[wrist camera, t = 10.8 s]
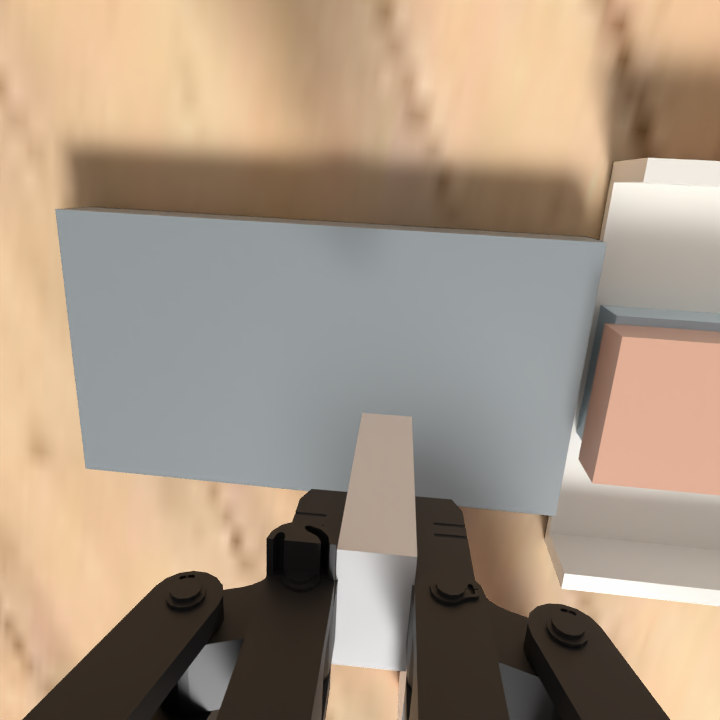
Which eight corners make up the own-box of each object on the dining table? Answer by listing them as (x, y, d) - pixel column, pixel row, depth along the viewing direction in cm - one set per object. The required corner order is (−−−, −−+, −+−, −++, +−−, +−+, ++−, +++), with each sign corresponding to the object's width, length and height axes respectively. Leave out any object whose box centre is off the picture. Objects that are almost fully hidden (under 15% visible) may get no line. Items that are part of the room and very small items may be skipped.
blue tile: (576, 432, 25) (589, 452, 23) (600, 304, 23) (616, 315, 21) (712, 444, 25) (737, 466, 23) (748, 315, 23) (778, 327, 21)
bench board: (113, 445, 29) (85, 468, 26) (90, 206, 25) (55, 209, 22) (543, 486, 27) (555, 516, 24) (587, 236, 23) (606, 242, 21)
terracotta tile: (578, 459, 23) (592, 483, 22) (604, 323, 22) (622, 336, 20) (725, 472, 23) (752, 498, 21) (765, 334, 21) (799, 349, 19)
